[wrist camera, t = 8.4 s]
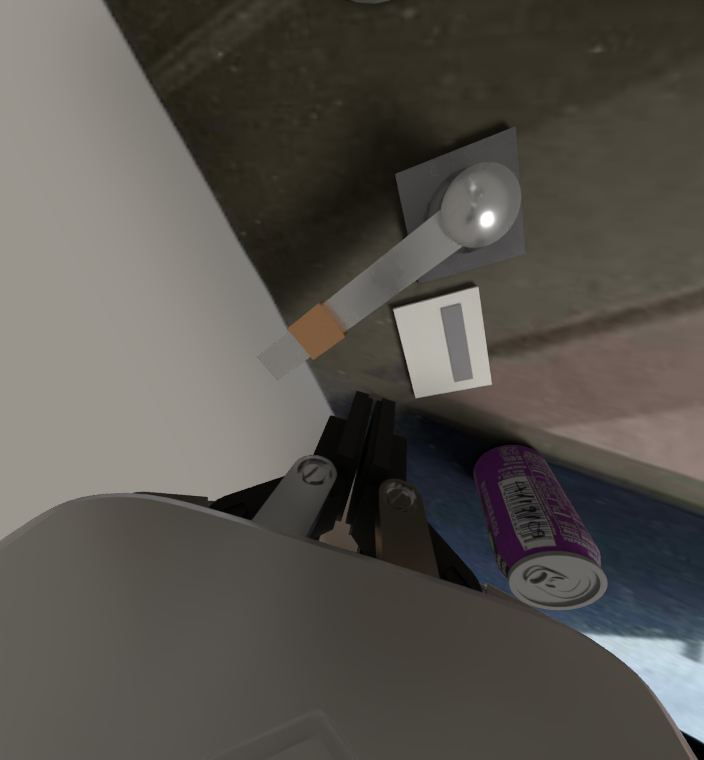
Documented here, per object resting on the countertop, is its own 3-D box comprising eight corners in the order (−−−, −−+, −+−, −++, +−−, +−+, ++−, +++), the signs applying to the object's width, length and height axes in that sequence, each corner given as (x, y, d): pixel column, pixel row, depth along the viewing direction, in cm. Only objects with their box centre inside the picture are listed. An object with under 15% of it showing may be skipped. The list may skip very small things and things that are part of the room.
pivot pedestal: (395, 176, 22) (393, 166, 19) (511, 130, 20) (530, 111, 17) (418, 283, 25) (419, 289, 22) (521, 253, 23) (539, 256, 20)
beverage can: (461, 480, 34) (484, 594, 23) (490, 431, 30) (533, 538, 20) (522, 500, 33) (575, 625, 23) (559, 453, 30) (641, 573, 19)
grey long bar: (483, 157, 18) (500, 140, 15) (514, 217, 19) (536, 213, 16) (266, 337, 26) (244, 352, 22) (296, 372, 27) (280, 392, 23)
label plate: (393, 308, 27) (393, 309, 26) (476, 285, 25) (478, 287, 24) (415, 395, 30) (415, 399, 29) (490, 381, 28) (492, 385, 27)
